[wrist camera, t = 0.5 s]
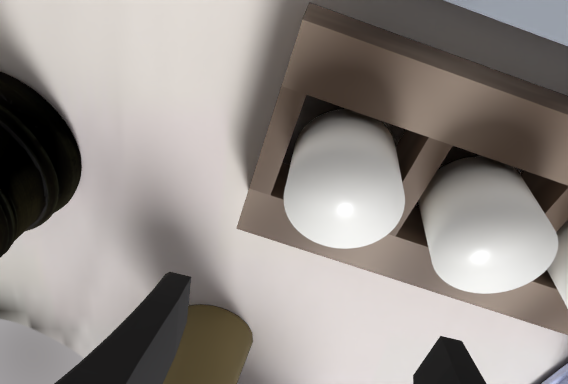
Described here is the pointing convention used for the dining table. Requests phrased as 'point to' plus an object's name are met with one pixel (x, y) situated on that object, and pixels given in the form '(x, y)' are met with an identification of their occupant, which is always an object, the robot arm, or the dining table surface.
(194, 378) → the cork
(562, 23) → the pattern card
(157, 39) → the dining table surface
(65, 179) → the container
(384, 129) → the left button
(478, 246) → the middle button
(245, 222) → the button board
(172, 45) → the dining table surface
